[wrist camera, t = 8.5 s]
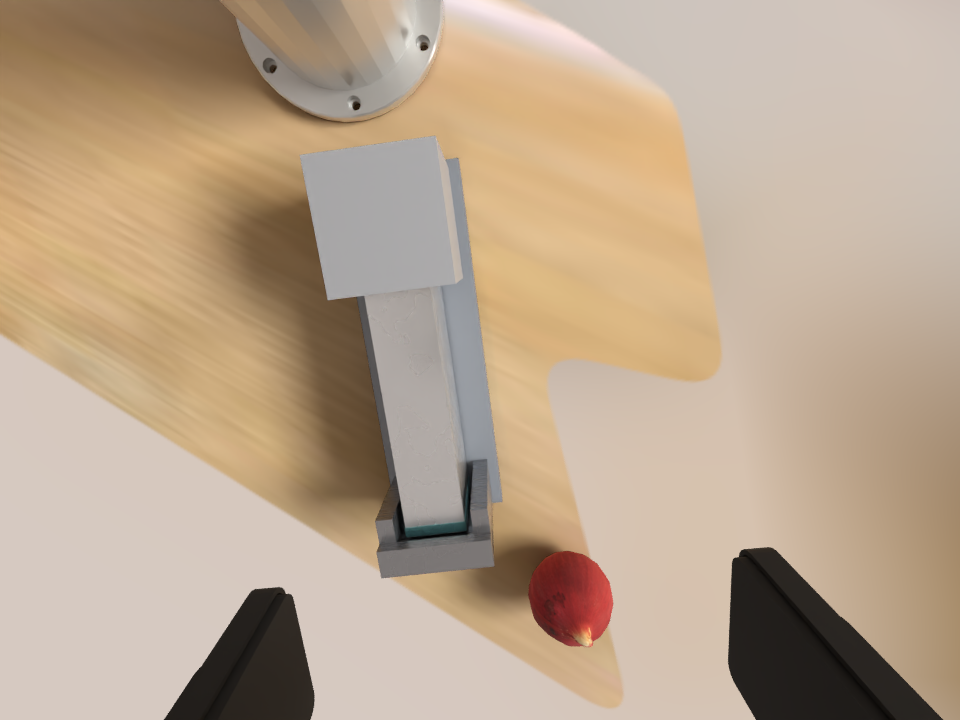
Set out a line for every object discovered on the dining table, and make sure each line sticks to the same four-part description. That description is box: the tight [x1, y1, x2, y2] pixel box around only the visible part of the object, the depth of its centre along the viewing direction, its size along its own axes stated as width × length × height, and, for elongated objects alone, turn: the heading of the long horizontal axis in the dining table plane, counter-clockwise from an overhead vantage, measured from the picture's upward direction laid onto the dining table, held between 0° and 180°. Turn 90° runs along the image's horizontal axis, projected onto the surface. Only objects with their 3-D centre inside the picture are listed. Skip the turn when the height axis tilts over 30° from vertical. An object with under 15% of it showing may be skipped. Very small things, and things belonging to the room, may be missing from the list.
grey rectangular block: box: [364, 286, 470, 538], centre depth 30 cm, size 16×4×6 cm, turn 7°
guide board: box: [300, 136, 502, 503], centre depth 29 cm, size 24×8×9 cm, turn 7°
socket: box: [375, 459, 494, 578], centre depth 31 cm, size 3×7×8 cm, turn 97°
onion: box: [528, 551, 613, 647], centre depth 33 cm, size 6×6×8 cm
